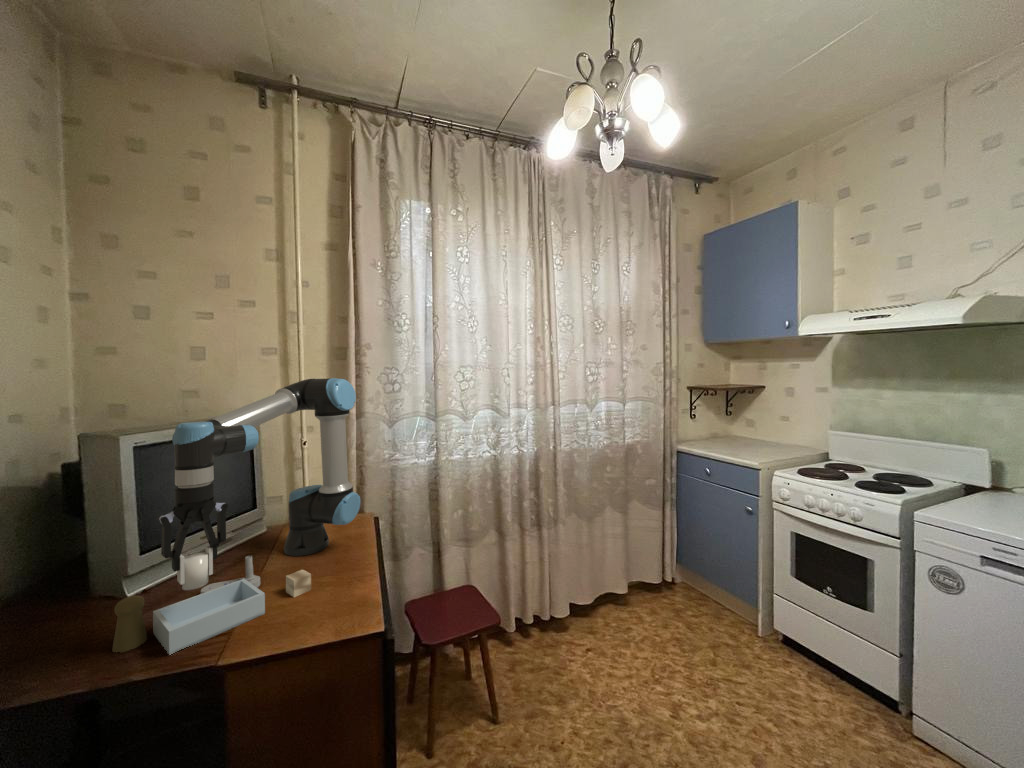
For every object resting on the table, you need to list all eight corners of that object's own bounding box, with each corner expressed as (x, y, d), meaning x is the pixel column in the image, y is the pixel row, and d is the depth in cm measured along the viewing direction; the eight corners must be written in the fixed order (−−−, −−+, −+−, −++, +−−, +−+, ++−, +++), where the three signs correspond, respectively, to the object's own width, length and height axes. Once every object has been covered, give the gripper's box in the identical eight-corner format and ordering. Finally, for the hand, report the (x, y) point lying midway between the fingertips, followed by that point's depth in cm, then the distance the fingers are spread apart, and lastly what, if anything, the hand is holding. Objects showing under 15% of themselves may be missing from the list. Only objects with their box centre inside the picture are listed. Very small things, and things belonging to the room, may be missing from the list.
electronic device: (203, 561, 117) (261, 551, 122) (204, 593, 117) (262, 582, 123) (196, 569, 112) (256, 558, 117) (197, 602, 112) (258, 590, 118)
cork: (127, 636, 96) (127, 592, 96) (154, 635, 97) (153, 591, 97) (104, 653, 90) (104, 606, 90) (132, 651, 91) (132, 605, 91)
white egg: (204, 577, 100) (204, 550, 100) (211, 583, 97) (211, 555, 97) (179, 586, 96) (179, 557, 96) (186, 592, 93) (185, 563, 93)
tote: (244, 597, 114) (244, 578, 114) (264, 613, 105) (264, 593, 105) (153, 633, 97) (153, 611, 97) (169, 656, 89) (169, 631, 89)
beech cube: (302, 585, 121) (302, 569, 121) (311, 590, 118) (310, 573, 118) (285, 592, 116) (285, 575, 116) (294, 597, 114) (293, 580, 114)
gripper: (231, 475, 106) (231, 560, 106) (141, 490, 91) (142, 588, 91) (242, 479, 102) (242, 567, 102) (150, 495, 87) (151, 598, 87)
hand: (195, 577), depth 96 cm, fingers closed on white egg, 5 cm apart
